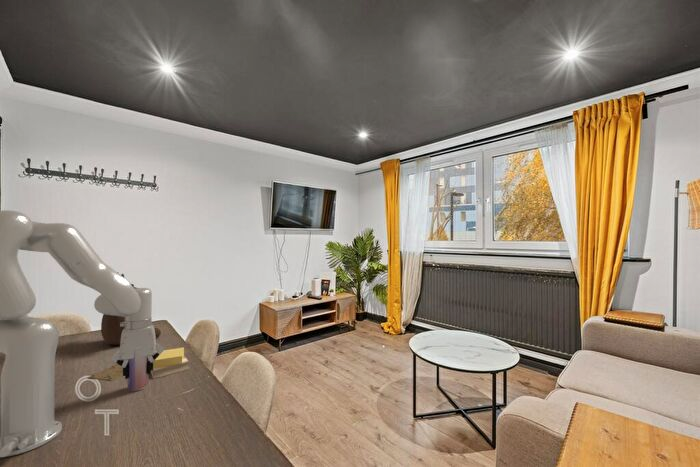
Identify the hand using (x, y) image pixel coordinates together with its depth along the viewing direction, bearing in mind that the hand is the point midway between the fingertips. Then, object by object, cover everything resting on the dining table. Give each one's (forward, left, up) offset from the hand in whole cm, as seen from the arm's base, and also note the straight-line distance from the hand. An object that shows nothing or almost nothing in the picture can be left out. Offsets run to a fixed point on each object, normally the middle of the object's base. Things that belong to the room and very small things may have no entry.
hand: (138, 374), depth 104 cm
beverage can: (0, 0, -5) cm, 5 cm away
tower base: (+12, -9, -5) cm, 16 cm away
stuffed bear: (+60, +8, -5) cm, 61 cm away
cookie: (+19, +9, -5) cm, 22 cm away
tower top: (+12, -9, -2) cm, 15 cm away
